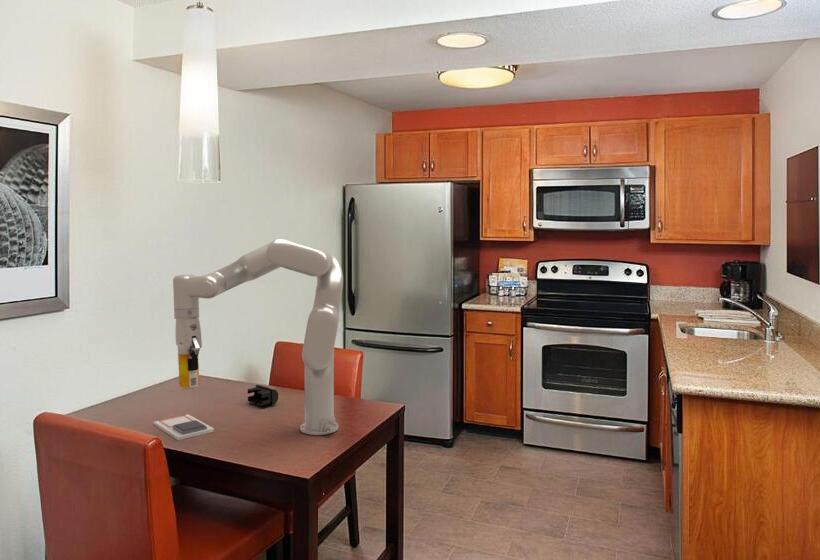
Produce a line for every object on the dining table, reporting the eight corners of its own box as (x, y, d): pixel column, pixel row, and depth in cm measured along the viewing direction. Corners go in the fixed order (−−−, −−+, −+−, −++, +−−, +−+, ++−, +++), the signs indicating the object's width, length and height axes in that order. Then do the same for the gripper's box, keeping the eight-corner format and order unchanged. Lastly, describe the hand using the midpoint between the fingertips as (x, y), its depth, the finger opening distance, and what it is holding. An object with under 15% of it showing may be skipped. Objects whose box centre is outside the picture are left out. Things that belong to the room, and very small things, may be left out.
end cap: (278, 405, 230) (278, 387, 229) (263, 409, 224) (263, 391, 224) (262, 400, 236) (262, 383, 236) (247, 404, 231) (246, 386, 230)
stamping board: (214, 431, 200) (213, 424, 200) (177, 440, 192) (177, 433, 192) (188, 417, 215) (188, 410, 215) (153, 424, 207) (153, 417, 207)
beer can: (192, 384, 203) (190, 339, 201) (203, 386, 199) (201, 341, 198) (175, 388, 198) (173, 342, 196) (187, 391, 194) (185, 344, 193)
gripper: (209, 315, 193) (211, 371, 194) (186, 309, 205) (188, 362, 207) (186, 317, 188) (188, 375, 189) (164, 311, 200) (166, 365, 202)
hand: (188, 367), depth 198 cm, fingers closed on beer can, 6 cm apart
